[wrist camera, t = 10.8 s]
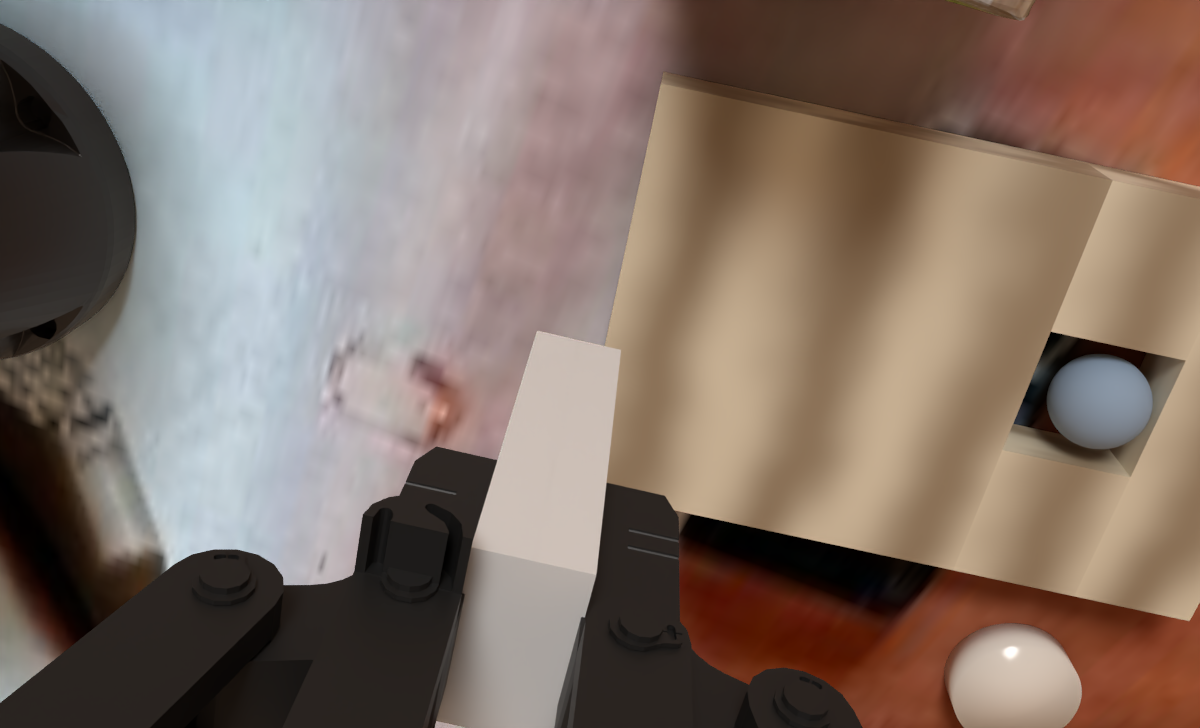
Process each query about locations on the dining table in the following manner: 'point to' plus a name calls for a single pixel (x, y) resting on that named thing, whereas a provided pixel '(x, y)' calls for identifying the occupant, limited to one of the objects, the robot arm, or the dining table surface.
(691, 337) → the board
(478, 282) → the dining table surface
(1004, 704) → the glossy white dome
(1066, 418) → the ball
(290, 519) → the dining table surface
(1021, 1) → the tea box
